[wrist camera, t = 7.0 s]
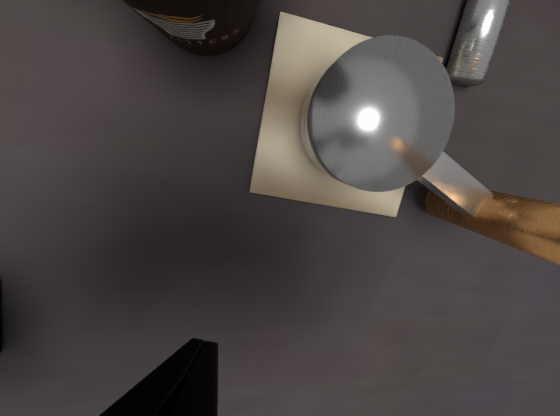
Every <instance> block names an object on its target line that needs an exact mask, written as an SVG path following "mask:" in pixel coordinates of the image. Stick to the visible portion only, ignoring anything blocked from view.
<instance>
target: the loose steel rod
mask: <svg viewBox="0 0 560 416" xmlns="http://www.w3.org/2000/svg"><path fill="white" fill-rule="evenodd" d="M510 2H511V0H467V1H466V5H465V8H464V11H463V15H462V18H461V21H460V25H459V28H458V31H457V35H456V38H455V41H454V44H453V48H452V51H451V54H450V58H449V61H448V64H447V68H446V71H447V73H448V75H449V78H450V81H451V84H452V85H456V86H461V87H469V86H477V85H480V84H482V83H483V82H484V80H485V77H486V74H487V71H488V68H489V65H490V62H491V59H492V56H493V53H494V50H495V47H496V44H497V41H498V38H499V35H500V32H501V29H502V26H503V23H504V20H505V17H506V14H507V11H508V8H509V5H510Z"/></svg>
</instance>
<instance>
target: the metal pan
mask: <svg viewBox="0 0 560 416" xmlns="http://www.w3.org/2000/svg"><path fill="white" fill-rule="evenodd" d="M454 113H455V101H454V92H453V87H452V84H451V81H450V78H449V75H448V73H447V71H446V69H445V67H444V66H443V64H442V63H441V61H440V60H439V59H438V57H437V56H436V55H435V54H434V53H433V52H432V51H431V50H429V49H428V48H427V47H426V46H424V45H423V44H421V43H419V42H417V41H415V40H413V39H410V38H407V37H402V36H395V35H386V36H378V37H374V38H370V39H367V40H365V41H362V42H360V43H358V44H356V45H355V46H353V47H351V48H350V49H349V50H347V51H346V52H345V53H343V54H342V55H341V56H340V57H339V58H338V59H337V60H336V61H335V62H334V63H333V64H332V65H331V66H329V67H328V68H327V69H326V70H325V71H324V72H323V73H322V74H321V75H320V76H319V77H318V78H317V79H316V81H315V82H314V83H313V85H312V86H311V88H310V90H309V92H308V93H307V96H306V98H305V101H304V104H303V108H302V112H301V123H300V127H301V136H302V141H303V144H304V147H305V150H306V152H307V154H308V156H309V158H310V159H311V160H312V162H313V163H314V164H315V166H316V167H317V168H318V169H319V170H321V171H322V172H323V173H324V174H326V175H327V176H329V177H331V178H333V179H335V180H337V181H340V182H342V183H345V184H347V185H350V186H352V187H354V188H357V189H360V190H364V191H370V192H386V191H392V190H396V189H399V188H402V187H404V186H407V185H409V184H410V183H412V182H414V181H416V180H418V181H419V182H421V183H422V184H423V185H424V186H426V187H427V188H428V189H429V191H428V193H427V195H426V197H425V208H426V210H427V211H428V213H429V214H431V215H432V216H435V217H437V218H440V219H442V220H445V221H448V222H450V223H453V224H455V225H458V226H460V227H463V228H465V229H468V230H471V231H473V232H476V233H478V234H481V235H483V236H486V237H489V238H491V239H494V240H496V241H499V242H501V243H504V244H507V245H509V246H512V247H514V248H517V249H519V250H522V251H525V252H527V253H530V254H532V255H535V256H537V257H540V258H543V259H545V260H548V261H550V262H553V263H555V264H558V265H560V204H557V203H552V202H547V201H542V200H537V199H532V198H526V197H521V196H516V195H511V194H506V193H500V192H495V191H490V190H488V189H486V188H485V187H484V186H483V185H482V184H481V183H479V182H478V181H477V180H476V179H475V178H474V177H472V176H471V175H470V174H469V173H468V172H467V171H465V170H464V169H463V168H462V167H461V166H460V165H458V164H457V163H456V162H455V161H454V160H452V159H451V158H450V157H449V156H448V155H447V154H445V153H444V152H443V150H444V148H445V146H446V144H447V142H448V139H449V137H450V134H451V130H452V127H453V121H454Z"/></svg>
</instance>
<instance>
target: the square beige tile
mask: <svg viewBox="0 0 560 416" xmlns="http://www.w3.org/2000/svg"><path fill="white" fill-rule="evenodd" d="M370 38H372V37H368V36H365V35H361V34H358V33H354V32H351V31H347V30H344V29H340V28H337V27H333V26H330V25H326V24H323V23H319V22H316V21H312V20H309V19H305V18H302V17H298V16H295V15H291V14H288V13H284V12H280V16H279V20H278V26H277V32H276V38H275V43H274V49H273V55H272V61H271V67H270V73H269V78H268V84H267V90H266V96H265V102H264V107H263V113H262V119H261V125H260V131H259V137H258V142H257V148H256V154H255V160H254V166H253V172H252V177H251V183H250V189H249V192H251V193H257V194H263V195H269V196H275V197H281V198H287V199H292V200H298V201H304V202H310V203H316V204H322V205H328V206H333V207H339V208H345V209H351V210H357V211H363V212H369V213H375V214H380V215H386V216H392V217H396V216H397V212H398V209H399V205H400V202H401V199H402V195H403V192H404V189H405V186H404V187H402V188H399V189H396V190H392V191H386V192H370V191H364V190H360V189H357V188H354V187H352V186H350V185H347V184H345V183H342V182H340V181H337V180H335V179H333V178H331V177H329V176H327V175H326V174H324V173H323V172H322V171H321V170H319V169H318V168H317V167H316V166H315V164H314V163H313V162H312V160H311V159H310V158H309V156H308V154H307V152H306V150H305V147H304V144H303V141H302V136H301V127H300V123H301V112H302V108H303V104H304V101H305V98H306V96H307V93H308V92H309V90H310V88H311V86H312V85H313V83H314V82H315V81H316V79H317V78H318V77H319V76H320V75H321V74H322V73H323V72H324V71H325V70H326V69H327V68H328V67H329V66H331V65H332V64H333V63H334V62H335V61H336V60H337V59H338V58H339V57H340V56H341V55H342V54H343V53H345V52H346V51H347V50H349V49H350V48H351V47H353V46H355V45H356V44H358V43H360V42H362V41H365V40H367V39H370ZM437 57H438V56H437ZM438 59H439V60H440V61H441V63H442V61H443V58H442V57H438Z"/></svg>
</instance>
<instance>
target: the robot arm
mask: <svg viewBox="0 0 560 416" xmlns="http://www.w3.org/2000/svg"><path fill="white" fill-rule="evenodd" d="M0 353H1V322H0ZM217 406H218V343H216V342H211V341H206V342H205V341H204V340H202V339H197V338H192V339H191V340H189V341H188V342H187V343H186V344H185V345H183V346H182V347H181V348H180V349H179V350H177V351H176V352H175V353H174V354H173V355H171V356H170V357H169V358H168V359H167V360H165V361H164V362H163V363H162V364H161V365H159V366H158V367H157V368H156V369H155V370H153V371H152V372H151V373H150V374H149V375H147V376H146V377H145V378H144V379H143V380H141V381H140V382H139V383H138V384H137V385H135V386H134V387H133V388H132V389H131V390H129V391H128V392H127V393H126V394H125V395H123V396H122V397H121V398H120V399H119V400H117V401H116V402H115V403H114V404H112V405H111V406H110V407H109V408H108V409H106V410H105V411H104V412H103V413H102V414H100V415H99V416H217Z"/></svg>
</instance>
